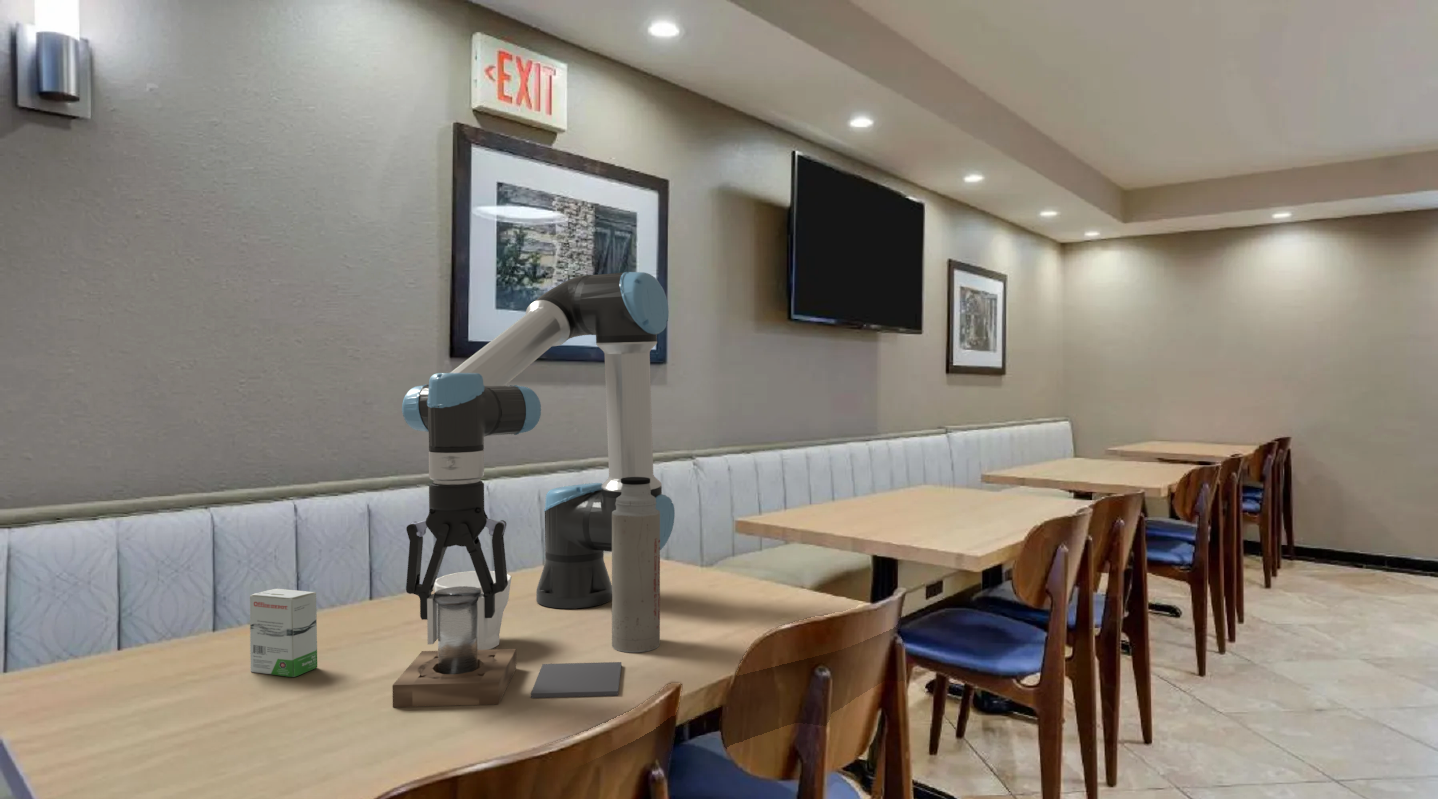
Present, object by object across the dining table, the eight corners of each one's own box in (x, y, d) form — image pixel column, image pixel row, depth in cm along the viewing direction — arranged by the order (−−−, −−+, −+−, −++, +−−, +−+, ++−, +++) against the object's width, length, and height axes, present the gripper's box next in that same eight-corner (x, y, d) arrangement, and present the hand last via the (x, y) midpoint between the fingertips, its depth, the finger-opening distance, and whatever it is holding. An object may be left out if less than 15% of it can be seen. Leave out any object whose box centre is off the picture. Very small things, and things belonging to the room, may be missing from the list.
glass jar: (441, 660, 120) (440, 586, 120) (485, 659, 121) (485, 586, 121) (429, 676, 114) (428, 598, 114) (475, 675, 114) (475, 597, 114)
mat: (542, 667, 125) (542, 663, 125) (621, 665, 126) (621, 662, 126) (530, 697, 113) (530, 693, 113) (617, 695, 114) (617, 691, 114)
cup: (527, 639, 139) (527, 574, 139) (476, 661, 128) (476, 591, 128) (470, 629, 144) (470, 567, 144) (417, 650, 133) (416, 583, 133)
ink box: (319, 667, 125) (318, 590, 125) (293, 678, 120) (292, 598, 120) (275, 661, 128) (275, 585, 128) (248, 672, 123) (247, 593, 123)
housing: (422, 670, 124) (422, 651, 124) (516, 668, 125) (516, 648, 125) (392, 707, 110) (392, 685, 110) (498, 704, 111) (498, 682, 111)
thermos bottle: (665, 639, 139) (665, 475, 139) (652, 654, 132) (652, 480, 131) (620, 636, 141) (620, 474, 140) (605, 651, 133) (605, 479, 133)
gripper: (378, 484, 112) (380, 651, 113) (521, 483, 114) (522, 647, 114) (395, 478, 120) (397, 634, 120) (529, 476, 121) (530, 631, 122)
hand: (458, 640), depth 117 cm, fingers closed on glass jar, 6 cm apart
